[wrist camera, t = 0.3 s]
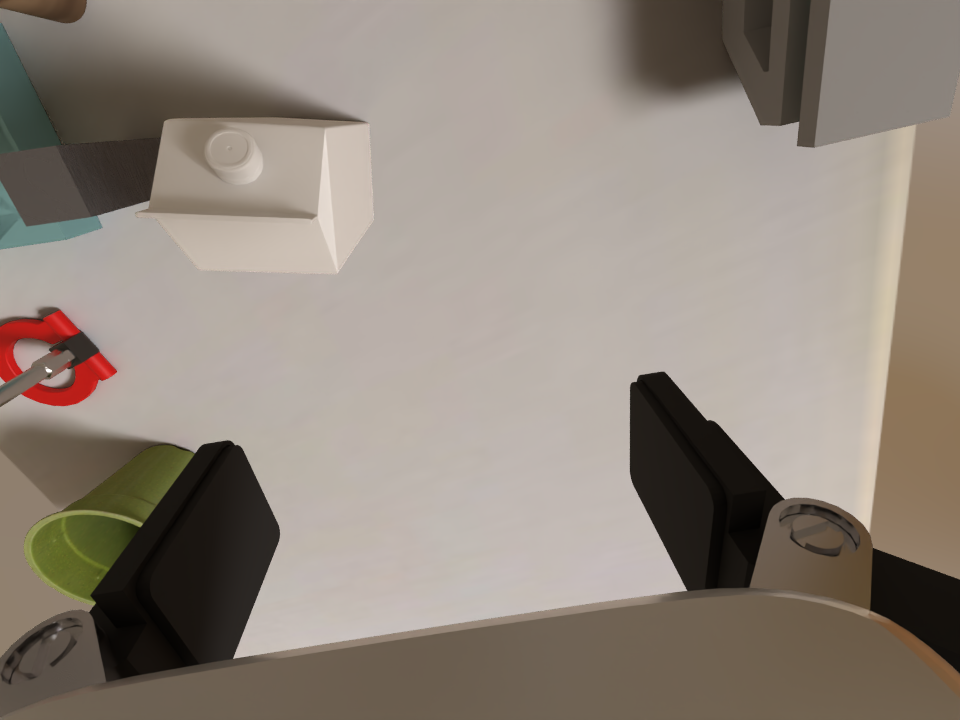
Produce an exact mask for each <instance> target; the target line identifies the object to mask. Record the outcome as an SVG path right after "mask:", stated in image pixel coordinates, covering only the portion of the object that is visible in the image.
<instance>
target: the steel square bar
mask: <svg viewBox="0 0 960 720" xmlns="http://www.w3.org/2000/svg"><path fill="white" fill-rule="evenodd" d="M160 142H161V138H149V139H136V140H123V141H110V142H97V143H84V144H70V145H57V146H50V147H43V148H36V149H29V150H23V151H16V152H9V153H2V154H0V181H1V183H2V185H3V186H4V188H5V190H6V192H7V193H8V195H9V197H10V199H11V200H12V202H13V204H14V206H15V207H16V209H17V211H18V213H19V215H20V216H21V218H22V220H23V222H24V223H25V225H26V227H28V226H35V225H41V224H48V223H55V222H62V221H68V220H75V219H82V218H89V217H94V216H97V215H101V214H104V213H108V212H111V211H115V210H118V209H122V208H125V207H129V206H132V205H136V204H139V203H143V202H146V201H150V198H151V192H152V187H153V181H154V175H155V170H156V164H157V159H158V153H159V147H160Z"/></svg>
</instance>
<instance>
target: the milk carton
mask: <svg viewBox="0 0 960 720" xmlns="http://www.w3.org/2000/svg"><path fill="white" fill-rule="evenodd" d="M135 214H136V217H137V218H155V219H156V220H157V221H158V223H159V224H160V225H161V226H162V227H163V229H164V230H165V231H166V232H167V233H168V234H169V236H170V237H171V238H172V239H173V240H174V242H175V243H176V244H177V245H178V246H179V247H180V249H181V250H182V251H183V252H184V253H185V255H186V256H187V257H188V258H189V259H190V260H191V262H192V263H193V264H194V265H195V266H196V268H197V269H199V270H210V271H241V272H275V273H308V274H338V272H339V270H340V269H341V267H342V266H343V264H344V263H345V261H346V260H347V258H348V257H349V256H350V254H351V253H352V251H353V250H354V248H355V247H356V245H357V244H358V242H359V241H360V239H361V238H362V236H363V235H364V234H365V232H366V231H367V229H368V228H369V226H370V225H371V223H372V222H373V220H374V208H373V188H372V167H371V147H370V127H369V123H366V122H353V121H335V120H317V119H299V118H280V117H257V118H175V119H168V120H166V121H164V125H163V130H162V136H161V142H160V147H159V153H158V159H157V164H156V170H155V175H154V181H153V187H152V192H151V198H150V203H149V209H146V210H142V211H139V212H136V213H135Z"/></svg>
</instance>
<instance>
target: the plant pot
mask: <svg viewBox="0 0 960 720" xmlns="http://www.w3.org/2000/svg"><path fill="white" fill-rule="evenodd" d="M194 455H195V454H194V453H192V452H190V451H184V450H181V449H178V448H176V447H175V446H171V445H160V446H154V447H150V448H148V449H146V450H144V451H143V452H141V453H140V454H139V455H137V456H136V457H135V458H133V459H132V460H131V461H130V462H128V463H127V464H126V465H125V466H123V467H122V468H121V469H119V470H118V471H117V472H116V473H114V474H113V475H112V476H111V477H109V478H108V479H107V480H105V481H104V482H103V483H101V484H100V485H99V486H98V487H96V488H95V489H94V490H92V491H91V492H90V493H89V494H87V495H86V496H85V497H84V498H82V499H80V500H78V501H76V502H74V503H72V504H71V505H69V506H68V507H67V508H65V509H64V510H63V511H61V512H57V513H54V514H52V515H49V516H47V517H45V518H43V519H41V520H40V521H38V522H37V523H36V524H35V525H34V526H32V528H31V529H30V530H29V532H28V533H27V535H26V537H25V541H24V554H25V557H26V560H27V562H28V564H29V566H30V567H31V568H32V570H33V572H34V573H35V574H36V575H37V576H38V577H39V578H40V579H41V580H42V581H43V582H44V583H46V584H47V585H48V586H50V587H52V588H54V589H55V590H57V591H58V592H60V593H62V594H63V595H66V596H68V597H70V598H72V599H75V600H78V601H80V602H83V603H86V604H89V605H93V606H94V605H95V604H96V602H95V601H94V600H93V599H92V597H91V596H90V595H91V594H92V592H93V591H94V589H95V588H96V587H97V585H98V584H99V583H100V581H101V580H102V579H103V577H104V576H105V575H106V573H107V572H108V571H109V569H110V568H111V567H112V565H113V564H114V562H115V561H116V560H117V558H118V557H119V556H120V554H121V553H122V552H123V550H124V549H125V548H126V546H127V545H128V544H129V542H130V541H131V540H132V538H133V537H134V535H135V534H136V533H137V531H138V530H139V529H140V527H141V526H142V525H143V523H144V522H145V521H146V519H147V518H148V517H149V515H150V514H151V513H152V511H153V510H154V508H155V507H156V506H157V504H158V503H159V502H160V500H161V499H162V498H163V496H164V495H165V494H166V492H167V491H168V490H169V488H170V487H171V486H172V484H173V483H174V481H175V480H176V479H177V477H178V476H179V475H180V473H181V472H182V471H183V469H184V468H185V467H186V465H187V464H188V463H189V461H190V460H191V459H192V457H193V456H194Z"/></svg>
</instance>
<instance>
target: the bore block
mask: <svg viewBox="0 0 960 720" xmlns="http://www.w3.org/2000/svg"><path fill="white" fill-rule="evenodd" d="M57 145H62V144H61V142H60V140H59V138H58V136H57V134H56V132H55V130H54V128H53V126H52V124H51V122H50V120H49V118H48V116H47V114H46V112H45V110H44V108H43V106H42V104H41V102H40V100H39V98H38V96H37V94H36V92H35V90H34V88H33V86H32V84H31V82H30V80H29V78H28V76H27V74H26V72H25V69H24V67H23V65H22V63H21V61H20V59H19V57H18V55H17V53H16V51H15V49H14V47H13V45H12V43H11V41H10V39H9V37H8V35H7V33H6V31H5V29H4V27H3V25H2V23H0V154H2V153H9V152H16V151H23V150H29V149H36V148H43V147H50V146H57ZM101 228H102V226H101V224H100V222H99V219H98V217H97V216H94V217H89V218H82V219H75V220H68V221H62V222H55V223H48V224H41V225H35V226H28V227H26V225H25V223H24V222H23V220H22V218H21V216H20V215H19V213H18V211H17V209H16V207H15V206H14V204H13V202H12V200H11V199H10V197H9V195H8V193H7V192H6V190H5V188H4V186H3V185H2V183H1V181H0V249H6V248H13V247H20V246H26V245H33V244H40V243H47V242H54V241H60V240H67V239H70V238H73V237H76V236H79V235H82V234H85V233H88V232H91V231H94V230H98V229H101Z"/></svg>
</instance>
